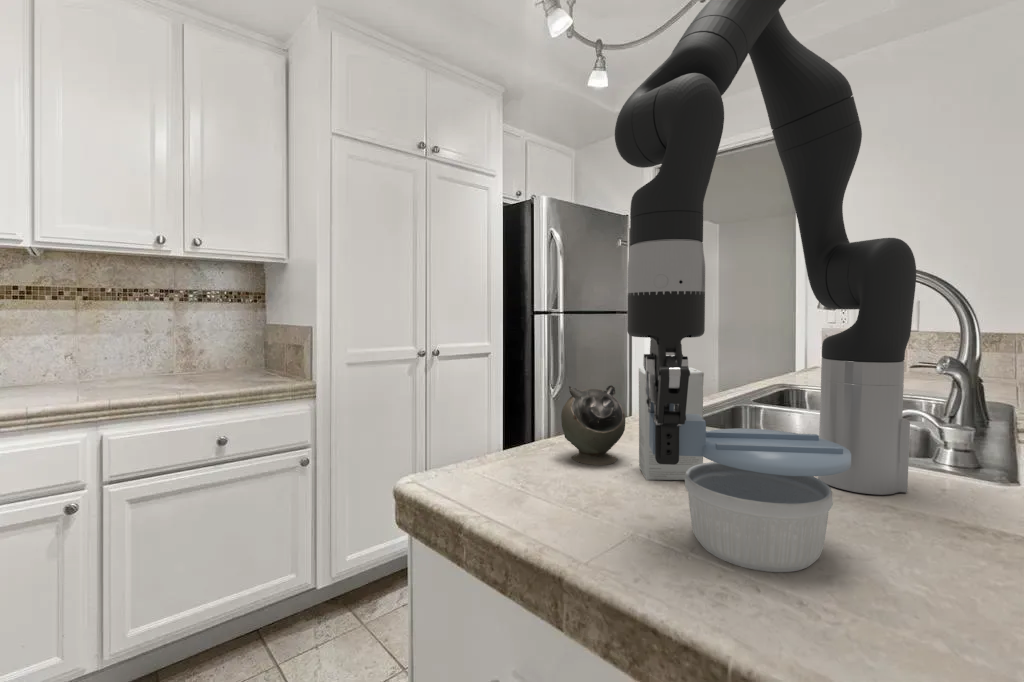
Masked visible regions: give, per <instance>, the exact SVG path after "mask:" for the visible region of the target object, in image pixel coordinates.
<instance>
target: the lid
mask: <svg viewBox="0 0 1024 682" xmlns="http://www.w3.org/2000/svg"><path fill="white" fill-rule="evenodd" d="M653 417H654V413H649V446H650V448H651V451H652V453H653V455H655V423H654V422H653ZM679 456H703V458H705V459H707V460H709V461H711V462H716V463H719V464H722V465H726V466H729V467H733V468H738V469H742V470H747V471H753V472H759V473H766V474H774V475H785V476H813V477H818V476H826V475H834V474H838V473H842V472H845V471H847V470H848V469H849V468H850V467H851V452H850V451H849V450H848V449H847V448H845V447H843V446H841V445H839V444H837V443H834V442H831V441H828V440H825V439H821V438H819V434H817V433H796V432H791V431H783V430H775V429H774V430H773V429H763V428H741V427H740V428H737V427H736V428H719V429H718V428H717V429H713V430H712V429H711V430H707V421H706V420H705V419H704V417H703V418H702V417H701V416H700V415H699V414H686V421H685V424H682V425H681V427H679Z"/></svg>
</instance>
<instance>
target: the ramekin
mask: <svg viewBox="0 0 1024 682" xmlns="http://www.w3.org/2000/svg"><path fill="white" fill-rule="evenodd" d="M684 486H685V487H684V488H685V489H686V491H687V494H688V507H689V516H690V523H691V529H692V532H693V535H694V536H695V539H697V542H699V543H700V545H701V546H702V547H703V548H704V550H706V551H707V552H708V553H709V554H711V555H712V556H714V557H716V558H718V559H720V560H722V561H724V562H726V563H730V564H732V565H734V566H738V567H742V568H744V569H745V568H746V569H749V570H753V571H758V572H759V571H760V572H767V573H791V572H792V573H793V572H798V571H802V570H805V569H806V568H808V567H810V566H811V565H812V564H814V563H816V561H817V560H819V558H820V556H821V554H822V553H823V549H824V545H825V540H826V533H827V526H828V520H829V512H830V511H831V509H832V507H833V503H834V502H833V491H832V488H831V486H830V485H828V484H826V483H824V482H823V481H821V480H820V479H819V478H818V477H816V476H785V475H774V474H766V473H759V472H753V471H747V470H742V469H738V468H733V467H729V466H726V465H722V464H719V463H716V462H714V461H711V462H705V463H704V462H703V464H699V465H695V466H693V467H691V468H689V469H688V470H687V471H686V473H685V480H684Z"/></svg>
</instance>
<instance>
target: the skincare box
mask: <svg viewBox="0 0 1024 682" xmlns="http://www.w3.org/2000/svg"><path fill="white" fill-rule="evenodd" d="M688 367H689V366H688ZM689 370H690V376H689V382H688V393H687V405H686V414H699V415H700V416H701V417H702V418H703V419H704V375H705V373H704V372H703V371H702V370H699V369H697V368H694V367H689ZM646 400H647V395H646V391H645V369H644V367H638V456H639V457H638V467H639V469H640V470H641V473H642V474H643V476H644V478H645V480H646V481H685V473H686V471H687V470H688V469H689V468H691V467H693V466H695V465H699V464H703V463H704V457H703V456H679V462H678V463H677V464H675V465H671V464H659V463H657V461H656V459H655V455H653V453H652V451H651V448H650V446H649V413H648V408H649V407H648V404H647V403H646ZM674 409H675V405H674Z"/></svg>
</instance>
